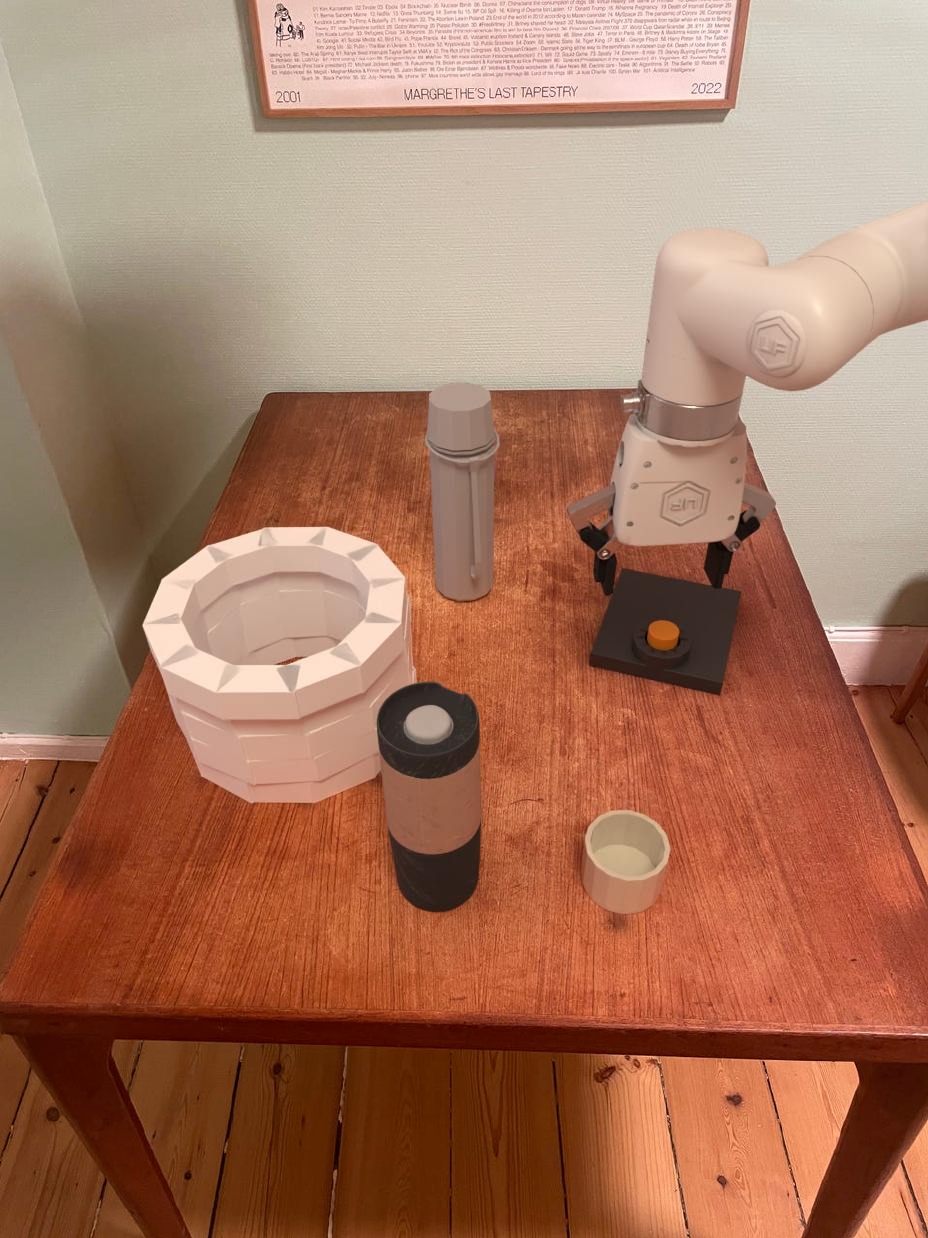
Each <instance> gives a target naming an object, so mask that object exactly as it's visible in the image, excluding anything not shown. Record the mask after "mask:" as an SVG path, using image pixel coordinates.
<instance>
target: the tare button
mask: <svg viewBox="0 0 928 1238" xmlns="http://www.w3.org/2000/svg"><path fill="white" fill-rule="evenodd" d="M678 637H679V629H678V627H677V626H676V625H675V624H673V623H672V622H669V621H664V620H659V621H655V622H653V623H651V624H650V626H649V629H648V635H647V642H648V644H649V645H650V646H651V647H653V648H655V649H659V650H663V651H666V650H671V649H673V648H675V647H676V645H677V642H678Z"/></svg>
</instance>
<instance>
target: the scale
mask: <svg viewBox="0 0 928 1238" xmlns="http://www.w3.org/2000/svg"><path fill="white" fill-rule="evenodd" d="M741 595H742V590H737V589H731V588H727V587H722V588H721V589H715V588H714V587H712V585H711V584H706V583H701V582H696V581H691V580H686V579H680V578H677V577H676V578H675V577H672V576H671V577H670V576H666V575H660V574H655V573H650V572H645V571H640V570H636V569H630V568H624V567H622V568H621V571H620V573H619V576H618V578H617V581H616V583H615V585H614V591H613V594H611V596H610V600H609V602H608V605H607V608H606V610H605V613H604V616H603V619H602V621H601V624H600V627H599V630H598V631H597V635H596V638H595V640H594V643H593V646H592V648H591V651H590V655H589V664H588V665H589V667H594V668H598V669H602V670H607V671H611V672H614V673H620V674H624V675H628V676H633V677H638V678H642V679H647V680H651V681H655V682H660V683H664V684H668V685H672V686H677V687H682V688H684V689H685V688H686V689H690V690H695V691H699V692H702V693H703V692H704V693H709V694H712V695H717V696H721V694H722V689H723V686H724V682H725V675H726V671H727V666H728V660H729V657H730V656H729V655H730V652H731V651H730V649H731V645H732V641H733V636H734V630H735V626H736V620H737V616H738V612H739V611H738V610H739V605H740V601H741ZM659 620H664V621H669V622H672V623H673V624H675V625H676V626H677V627H678V629H679V637H678V642H677V645H676V647H675V648H673V649H671V650H666V651H663V650H659V649H655V648H653V647H651V646H650V645H649V644H648V642H647V635H648V629H649V626H650V624H651V623H653V622H655V621H659Z"/></svg>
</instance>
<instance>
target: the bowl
mask: <svg viewBox="0 0 928 1238" xmlns="http://www.w3.org/2000/svg"><path fill="white" fill-rule="evenodd" d="M671 851H672V850H671V844H670V841H669V837H668V834H667V833H666V831H664V828H662V826H661V825H660V824H659V823H658V822H657V821H655V820H654V819H653V818H651V817H650V816H648V815H646V814H645V813H642V812H638V811H634V810H631V809H615V810H614V809H613V810H610V811H607V812H605V813H603V814H600V815H598V816H597V817H595V819H594V820H592V822H591V823H590V824H589V825H588V827H587V830H586V833H585V837H584V842H583V851H582V858H581V866H580V874H581V875H580V877H581V883H582V886H583V889H584V891H585V893H586V894H587V895H588V897H589V898H590V899H591V900H592V901H593V903H595V904H596V905H597V906H599V907H601V908H602V909H603V910H606V911H609V912H611V913H616V914H620V915H633V914H638V913H641V912H644V911H646V910H648V909H649V908H651V907H652V906H653V905H654V904H655V903H656V902H657V901H658V899H659V898H660V895H661V893H662V891H663V885H664V882H665V878H666V877H665V876H666V873H667V867H668V863H669V858H670V854H671Z"/></svg>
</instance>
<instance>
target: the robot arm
mask: <svg viewBox="0 0 928 1238" xmlns="http://www.w3.org/2000/svg"><path fill="white" fill-rule="evenodd" d="M769 263H770V262H769V256H768V252H767V249H766V248H765V246H764V244H762V243H761V242H760V241H759V240H758V239H756V238H755V237H753V236H751V235H749V234H746V233H743V232H741V231H737V230H732V229H726V228H716V227H715V228H713V227H705V228H695V229H689V230H684V231H680V232H677V233H676V234H674V235H672V236H670V237H669V238H668V239H667V240H666V241H664V243H663V244H662V246H661V248H660V249H659V251H658V254H657V257H656V262H655V267H654V274H653V283H652V290H651V299H650V306H649V314H648V322H647V331H646V338H645V347H644V354H643V362H642V363H643V364H642V371H641V372H642V373H641V379H638V382H637V387H636V389H635V391H634V392H630V393H629V394H621V395H620V398H619V409H620V413H621V414H625V413H630V415H629V416H628V419H627V421H626V424H625V426H624V429H623V432H622V436H621V438H620V441H619V445H618V449H617V452H616V456H615V460H614V464H613V468H612V473H611V478H610V484H609V485H607V486H605V487H603V488H601V489H598V490H597V491H595V492H593V493H591V494H589V495H587V496H584V497H582V498H581V499H578V500H576V501H574V502H572V503H570V504H569V505H567V507H566V512H567V515H568V518H569V521H570V522H571V524H572V526H573V527H574V529H575V531H576V533H577V535H578V536H579V539H580V541H581V542H583V544H585V545H586V546H587V547H589V548H590V549H591V550H592V551H594V556H593V557H594V558H593V566H592V567H593V568H592V575H593V576H592V577H593V580H594V583H596V584H597V583H600V586H601V590H602V592H603V595H604V597H612V594H613V592H614V589H615V584H616V583H615V582H616V574H617V568H618V567H617V566H618V559H617V557H616V552H618V551H619V549H621V547H623V546H624V545H625V546H627V547H634V548H635V547H636V548H637V547H638V548H639V547H660V546H675V545H677V546H679V545H693V544H707V543H708V544H707V549H706V554H705V559H704V563H703V570H704V573H705V575H706V577H707V580H708V581H709V583H710V585H712V587H714V588H715V589H721V588H723V584H724V580H725V575H729V573H730V569H731V564H732V561H733V557H734V552H736V551H739V550H740V549H741V547H742V542H744V541H745V540H746V539H747V538H749V537H750V536H752V535H753V534H754V533H756V532H757V531H758V530H759V529H760V528H761V523H762V521H765V520H766V518H767V517H768V516H769V515H770V514H771V512H772V511H773V510H774V509H775V507H776V506H777V503H776V500H775V499H774V497H773V496H772V494H771V493H770V492H769V491H767V490H764V489H761V488H760V487H757V486H755V485H753V484H751V483H748V482H746V470H747V469H746V468H747V451H748V448H747V447H748V439H747V437H748V435H747V425H746V424H745V423H744V421H742V420H741V419H740V417H739V414H740V413H739V412H740V409H741V403H742V398H743V394H744V390H745V389H744V387H745V383H746V379H747V377H748V378H749V379H752V380H753V381H755V382H758V383H759V384H762V385H763V386H766V387H769V388H771V389H775V390H778V391H784V392H800V391H805V390H810V389H812V388H815V387H817V386H819V385H821V384H823V383H825V382H826V381H827V380H829V379H830V378H831V377H833V376H834V375H835V374H837V372H839V371H840V370H841V369H842V368H843V367H844V366H845V365H847V364H848V363H849V362H850V361H852V360H853V359H854V358H855V357H856V356H857V355H858V354H859V353H861V351H863V350H864V349H865V348H866V347H868V345H870V344H871V343H872V342H873V341H874V340H876V339H877V338H879V337H880V336H882V335H885V334H886V333H889V332H892V331H895V330H898V329H901V328H905V327H908V326H912V325H915V324H919V323H923V322H926V321H928V200H926V201H923V202H920V203H918V204H915V205H913V206H910V207H907V208H905V209H902V210H899V211H896V212H893V213H891V214H889V215H886V216H883V217H881V218H878V219H875V220H872V221H870V222H866V223H864V224H862V225H859V226H857V227H854V228H852V229H849V230H847V231H844V232H842V233H840V234H837V235H835V236H833V237H831V238H829V239H826V240H825V241H822V242H821V243H820V244H818V245H816V246H814V247H813V248H811V249H809V250H808V251H806V252H804V253H803V254H801V255H800V256H798V257H797V258H795V259H794V260H791V261H786V262H784V263H780V264H779V263H778V264H774V265H770V264H769ZM743 503H744V504H746V505H748V507H747V509H745V510H743V511H742V505H743ZM606 510H607V513H608V516H609V517H607V518H606V519H605V520H604V521H603V522H602V523H601V524H600V525H599V526H598V527H597V526H596V525H594V523H592V522H591V521H590V519H591V518H592V517H594V516H596V515H598V514H600V513H602V512H604V511H606ZM741 511H742V512H741Z"/></svg>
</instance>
